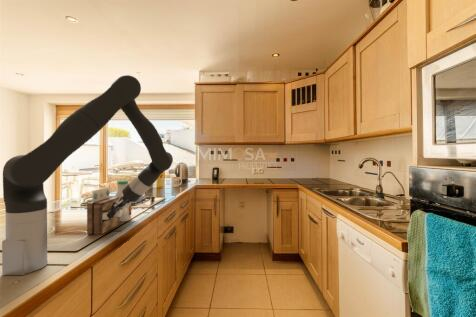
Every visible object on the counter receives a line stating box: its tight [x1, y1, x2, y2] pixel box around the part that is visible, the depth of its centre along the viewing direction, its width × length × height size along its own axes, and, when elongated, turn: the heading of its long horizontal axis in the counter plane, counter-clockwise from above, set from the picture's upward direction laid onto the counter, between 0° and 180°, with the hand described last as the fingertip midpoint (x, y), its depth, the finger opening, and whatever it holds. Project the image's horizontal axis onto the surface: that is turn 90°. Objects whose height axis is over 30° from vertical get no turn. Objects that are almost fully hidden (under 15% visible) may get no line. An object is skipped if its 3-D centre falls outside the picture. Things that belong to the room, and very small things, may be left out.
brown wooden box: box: [86, 196, 121, 235], centre depth 109 cm, size 15×6×13 cm, turn 178°
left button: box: [102, 212, 109, 220], centre depth 104 cm, size 3×5×3 cm, turn 88°
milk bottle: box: [114, 180, 132, 223], centre depth 123 cm, size 8×8×20 cm
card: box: [91, 186, 111, 203], centre depth 109 cm, size 12×1×5 cm, turn 178°
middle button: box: [108, 210, 122, 217], centre depth 109 cm, size 3×5×3 cm, turn 88°
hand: (108, 216), depth 104 cm, fingers closed
